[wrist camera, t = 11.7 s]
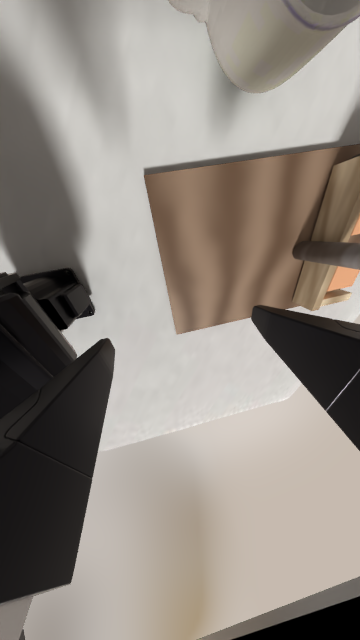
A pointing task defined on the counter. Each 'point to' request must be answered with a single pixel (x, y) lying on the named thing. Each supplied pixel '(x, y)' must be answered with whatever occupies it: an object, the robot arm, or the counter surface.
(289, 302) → the board
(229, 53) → the teacup
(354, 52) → the counter surface
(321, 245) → the wooden pusher with handle
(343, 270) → the block
